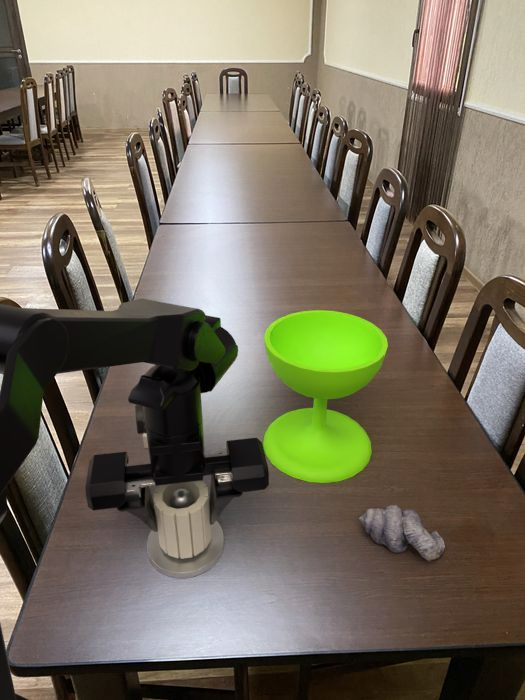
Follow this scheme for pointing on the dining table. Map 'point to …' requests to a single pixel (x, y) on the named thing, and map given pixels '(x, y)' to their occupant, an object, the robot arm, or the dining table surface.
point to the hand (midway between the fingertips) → (184, 525)
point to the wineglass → (321, 392)
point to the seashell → (401, 531)
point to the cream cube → (145, 440)
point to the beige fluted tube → (183, 520)
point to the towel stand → (196, 563)
